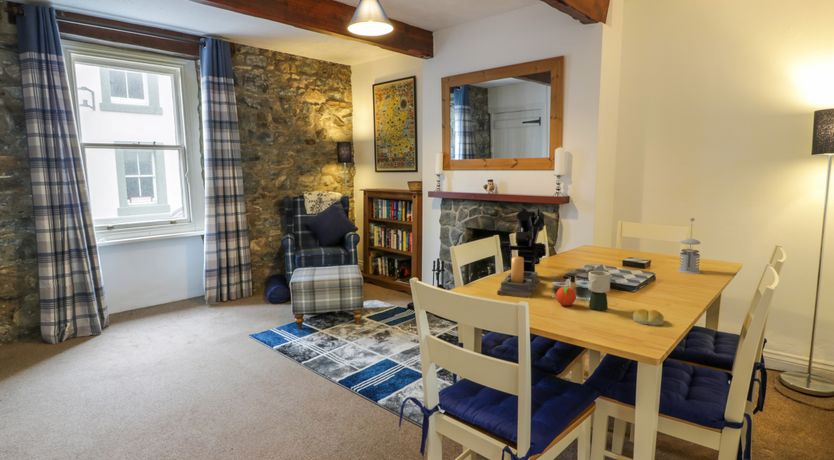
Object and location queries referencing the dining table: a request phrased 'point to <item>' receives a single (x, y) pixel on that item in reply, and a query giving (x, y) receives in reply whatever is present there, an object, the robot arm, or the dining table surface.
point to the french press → (689, 257)
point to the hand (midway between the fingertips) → (520, 265)
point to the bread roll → (648, 317)
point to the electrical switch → (597, 268)
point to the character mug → (599, 289)
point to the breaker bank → (520, 285)
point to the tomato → (566, 296)
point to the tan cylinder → (517, 270)
